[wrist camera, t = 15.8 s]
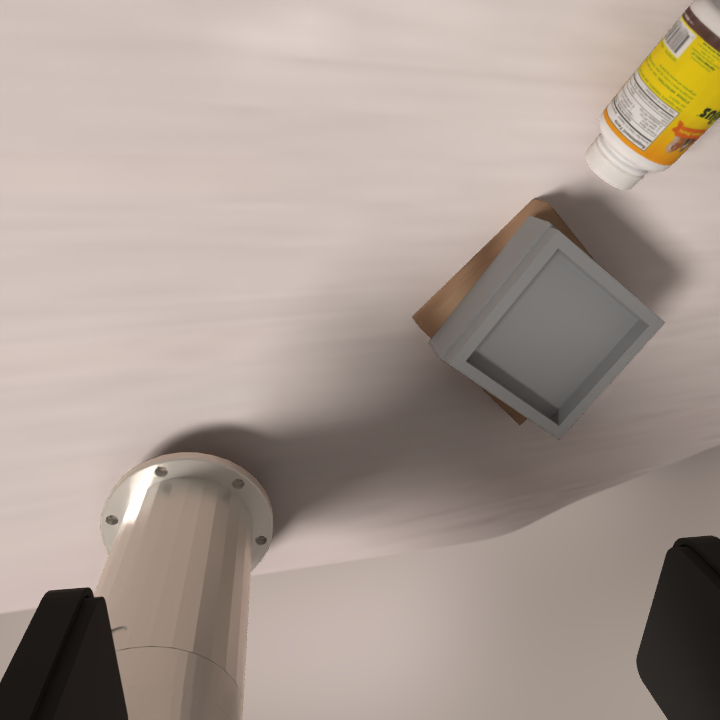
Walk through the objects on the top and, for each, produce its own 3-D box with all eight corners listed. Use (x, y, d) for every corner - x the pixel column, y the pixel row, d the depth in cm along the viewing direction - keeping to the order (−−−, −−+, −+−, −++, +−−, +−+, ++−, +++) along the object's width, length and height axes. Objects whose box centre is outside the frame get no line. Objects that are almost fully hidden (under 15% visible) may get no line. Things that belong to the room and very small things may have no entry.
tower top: (534, 415, 44) (558, 442, 40) (428, 342, 40) (444, 365, 36) (632, 303, 41) (669, 321, 38) (529, 215, 38) (558, 225, 34)
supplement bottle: (790, 47, 32) (650, 186, 39) (713, -12, 33) (591, 135, 40) (777, 59, 28) (627, 209, 36) (691, -8, 29) (562, 153, 37)
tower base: (505, 407, 47) (519, 425, 44) (410, 314, 42) (419, 327, 40) (617, 306, 45) (640, 318, 42) (529, 197, 40) (548, 202, 38)
